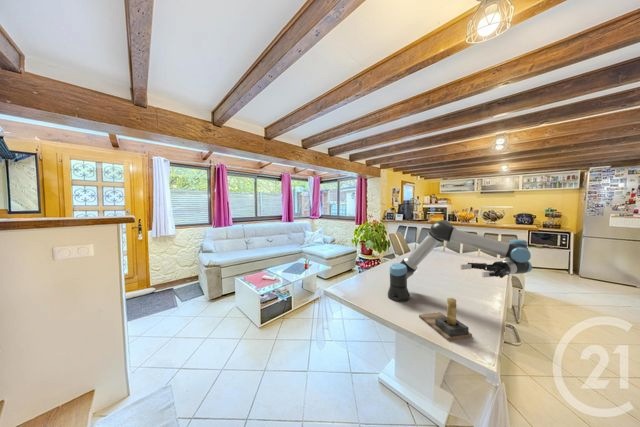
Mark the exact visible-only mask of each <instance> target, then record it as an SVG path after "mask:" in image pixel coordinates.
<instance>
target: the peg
mask: <svg viewBox="0 0 640 427" xmlns="http://www.w3.org/2000/svg"><path fill="white" fill-rule="evenodd" d="M446 317H447V324H448V325H449V326H456V320H457V300H456V299H455V298H454V297H447V298H446Z"/></svg>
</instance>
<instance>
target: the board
mask: <svg viewBox="0 0 640 427" xmlns="http://www.w3.org/2000/svg"><path fill="white" fill-rule="evenodd" d="M418 318H419V319H420V320H422V321H423V322H424V323H426V324H427V325H428V326H429V327H430V328H432V329H433V330H434V331H435V332H436V333H438V335H440V336H442V338H444V339H445V341H454V340H461V339H469V338H473V333H471V332H470V331H469V330H470V329H469V327H468V326H467V325H466V324H464V323H463V322H461V321H459V320H458V319H456V326H449V325H448V324H447V315H445V314H443V313H442V312H440V311H439V312H433V313H432V312H431V313H424V314H419V315H418Z"/></svg>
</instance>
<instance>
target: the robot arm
mask: <svg viewBox="0 0 640 427" xmlns="http://www.w3.org/2000/svg"><path fill="white" fill-rule="evenodd" d="M445 241H446V242H449V243H452V242H453V243H459V244H461V245H463V246H466V247H467V246H468V247H471V248H475V249H477V250H481V251H485V252H487V253H492V254H494V255H498V256H501V257H506V258H508V260H501V261H494V262H493V263H492V264H491V263H490V264H488V263H485V262H483V263H482V262H479V263H478V262H467V263H463V264H460V270H471V269H475V270H476V269H477V270H483V271H482V278H491V277H493V278H494V277H496V278H497V277H499V278H501V279H503V278H505V276H510V275H518V274H527V273H530V272H531V271H532V269H533V265H532V263H531V262H530V259H531V257H532V256H531V252H530V251H529V249H528V241H527V240H525V239H520V238H519V239H518V238H515V239H510V240H509V242H504V241H501V240H497V239H494V238H490V237H485V236H483V235H479V234H475V233H471V232H467V231H464V230H460V229H457V228H456V227H455V226H453V224H452V223H451V222H450V221H448V220H444V219H441V220H439V221H435V222H434V223H432V224H431V226H430V229H429V230H428V231H427V236H425V238H423V240H422V241H421V242H420V244H418V245H417V247H416V248H415V249H414V250H413V251H412V252H411V253H410V255H409V256H408V257H404V258H403V259H402V260H401V261H400V262H397V263H392V264H391V265H390V266H389V287H388V291H387V298H389V299H390V300H391V301H392V300H393V301H395V302H408V301H409V300H410V297H411V296H410V295H411V294H410V292H409V289H408V279H409V278H410V277H411V276H413V275H414V273H415V272H416V271H417V270H418V266H419V265H420V263H422V261H423V260H424V259H426V257H427V256H428V255H429V254H430V253H431V252H433V250H434V249H435V248H436V246H438V244H442V243H444V242H445Z"/></svg>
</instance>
